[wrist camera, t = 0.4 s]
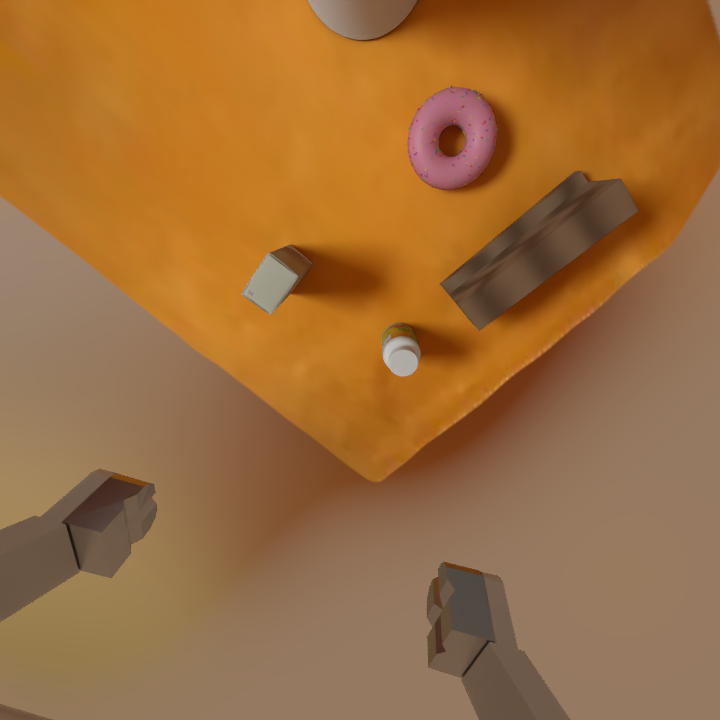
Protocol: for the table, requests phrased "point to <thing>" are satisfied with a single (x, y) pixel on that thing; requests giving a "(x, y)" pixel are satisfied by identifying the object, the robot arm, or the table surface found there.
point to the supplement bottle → (400, 349)
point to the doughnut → (426, 129)
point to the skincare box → (276, 278)
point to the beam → (538, 246)
